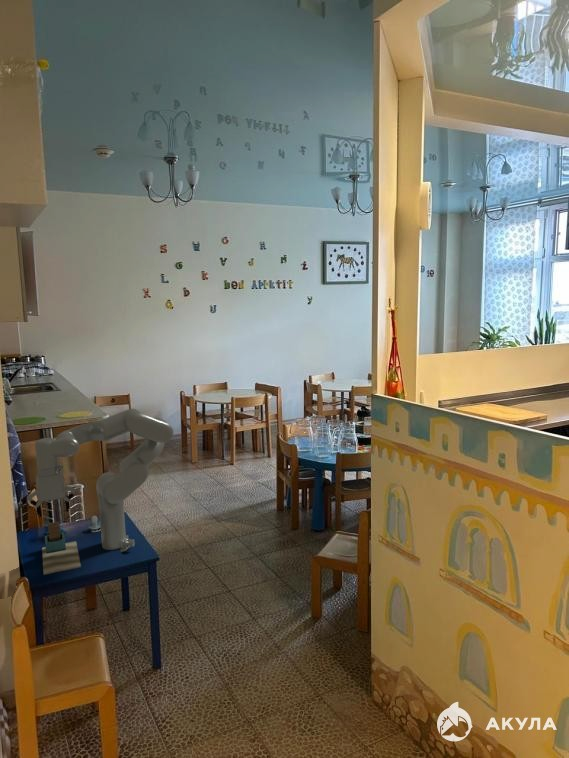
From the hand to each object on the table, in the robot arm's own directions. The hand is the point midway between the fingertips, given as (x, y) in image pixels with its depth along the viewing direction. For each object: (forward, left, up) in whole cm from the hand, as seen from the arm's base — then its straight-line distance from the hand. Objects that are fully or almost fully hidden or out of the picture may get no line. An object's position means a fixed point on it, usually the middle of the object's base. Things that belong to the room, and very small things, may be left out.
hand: (53, 513), depth 218 cm
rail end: (0, 0, -13) cm, 13 cm away
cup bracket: (+2, -3, -18) cm, 19 cm away
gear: (+14, -21, -20) cm, 32 cm away
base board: (-1, -1, -20) cm, 20 cm away
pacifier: (0, -29, -20) cm, 35 cm away
